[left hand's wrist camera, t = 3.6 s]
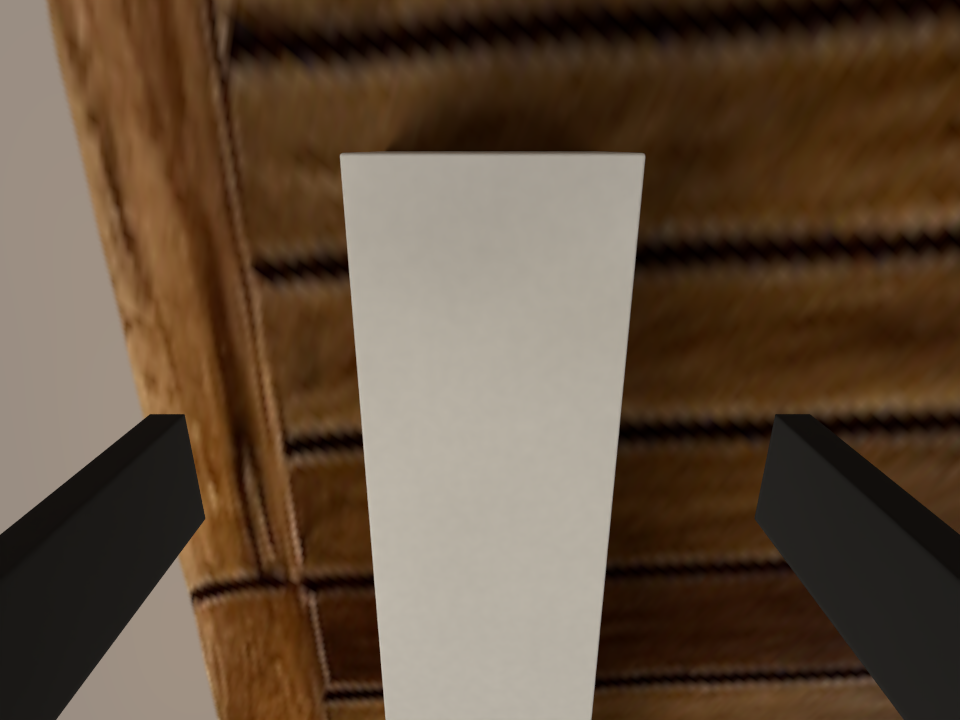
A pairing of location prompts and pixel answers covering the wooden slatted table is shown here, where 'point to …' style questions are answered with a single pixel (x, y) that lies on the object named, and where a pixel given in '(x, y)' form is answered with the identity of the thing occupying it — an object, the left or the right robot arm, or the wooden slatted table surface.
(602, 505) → the long square beam
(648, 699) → the wooden slatted table surface
